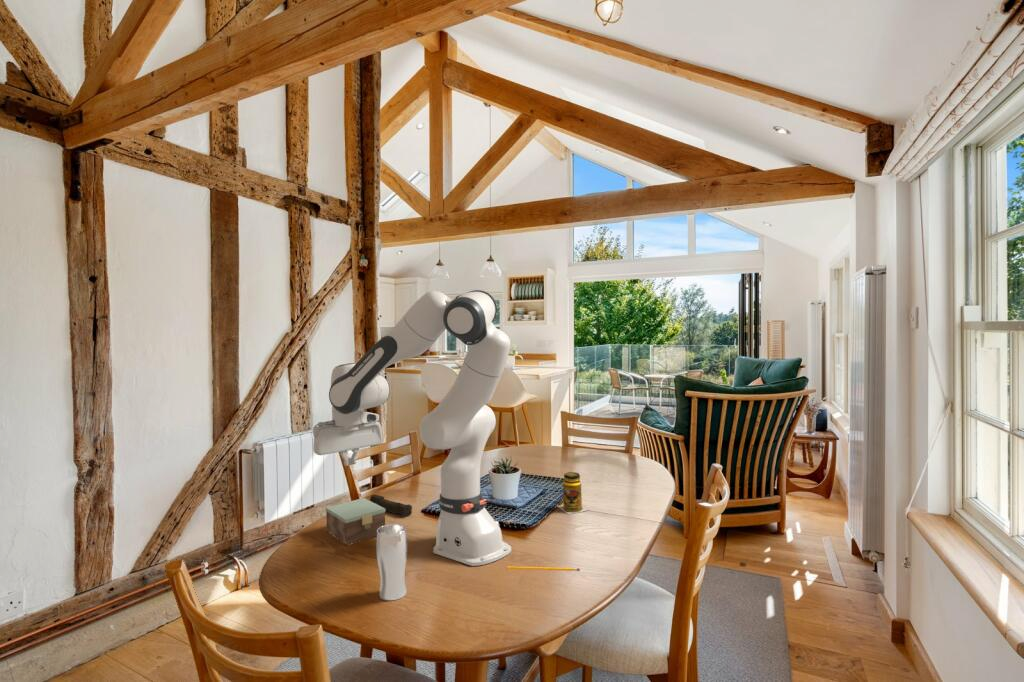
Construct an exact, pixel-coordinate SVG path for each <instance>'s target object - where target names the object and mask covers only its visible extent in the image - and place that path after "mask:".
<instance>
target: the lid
mask: <svg viewBox="0 0 1024 682" xmlns="http://www.w3.org/2000/svg"><path fill="white" fill-rule="evenodd" d="M326 511H327V512H329V513H330V514H332V515H333V516H335V517H337V518H338V519H340V520H341V521H343V522H345V523H349V522H352V521H356V520H359V519H362V525H366V524H369V523H372V516H373V515H377V514H380V513H384V512H385V513H386V510H385V508H383V507H381V506H379V505H377V504H375V503H373V502H371V501H370V499H367V498H365V497H360V498H358V499H357V498H356V499H355V500H354V499H353V500H350V501H346V502H342V503H338V504H335V505H330V506H327V507H325V512H326ZM327 512H326V513H327Z"/></svg>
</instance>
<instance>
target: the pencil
mask: <svg viewBox="0 0 1024 682" xmlns="http://www.w3.org/2000/svg"><path fill="white" fill-rule="evenodd" d="M506 570H529V571H530V570H533V571H534V570H535V571H536V570H537V571H566V572H580V570H581V569H580V568H579V567H576V568H575V567H547V566H545V567H540V566H538V567H537V566H508V565H507V566H506Z"/></svg>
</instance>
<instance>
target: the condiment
mask: <svg viewBox="0 0 1024 682" xmlns="http://www.w3.org/2000/svg"><path fill="white" fill-rule="evenodd" d="M562 499H563V504H560V505H556V507H558V508H559V509H560V510H562V511H563V512H564V513H566V514H569V515H571V514H576V513H577V514H578V513H582V512H585V511H587V508H584V507H583V504H582V483H581V475H580V473H579V472H575V471H574V472H573V471H570V472H565V473H564V474H563V482H562Z"/></svg>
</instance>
